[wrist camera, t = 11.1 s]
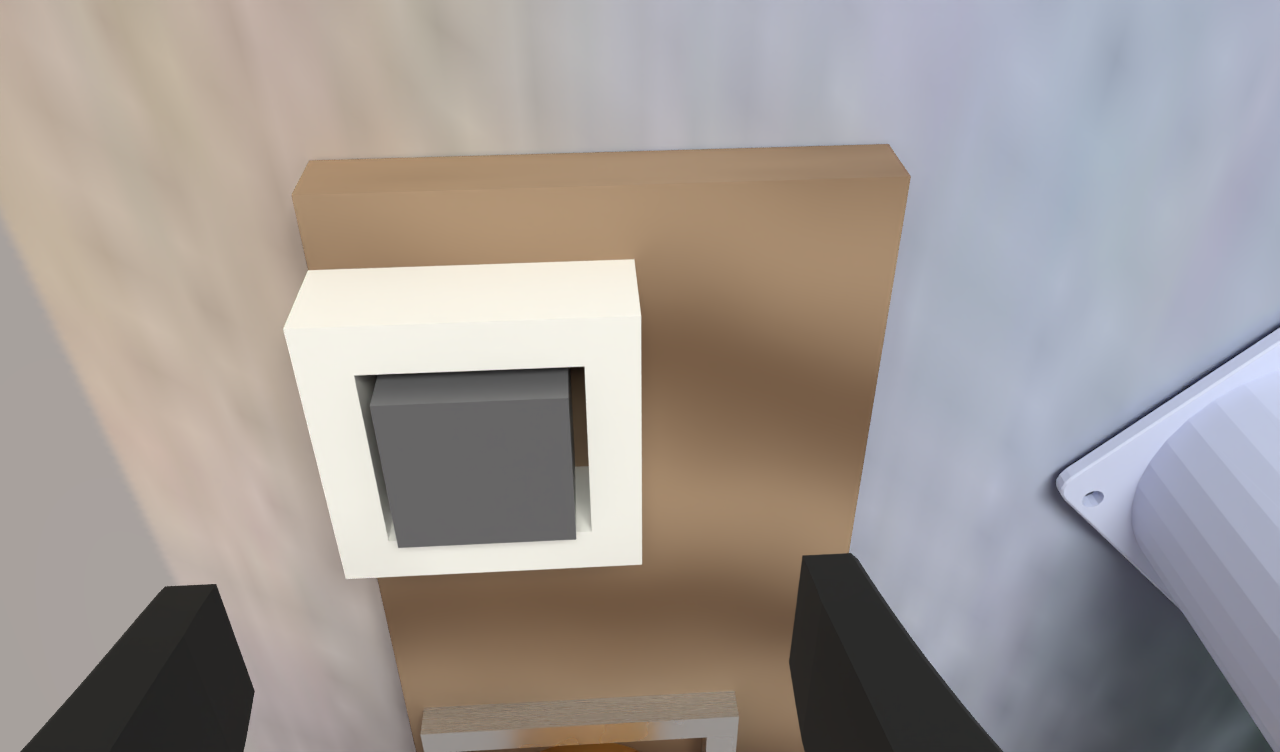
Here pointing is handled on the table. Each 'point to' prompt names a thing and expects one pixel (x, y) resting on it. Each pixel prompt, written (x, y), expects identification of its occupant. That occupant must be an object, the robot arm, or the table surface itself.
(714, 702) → the grey square frame
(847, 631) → the robot arm
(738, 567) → the tan flat plate
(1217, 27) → the table surface
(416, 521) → the button
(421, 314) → the frame
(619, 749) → the cap
